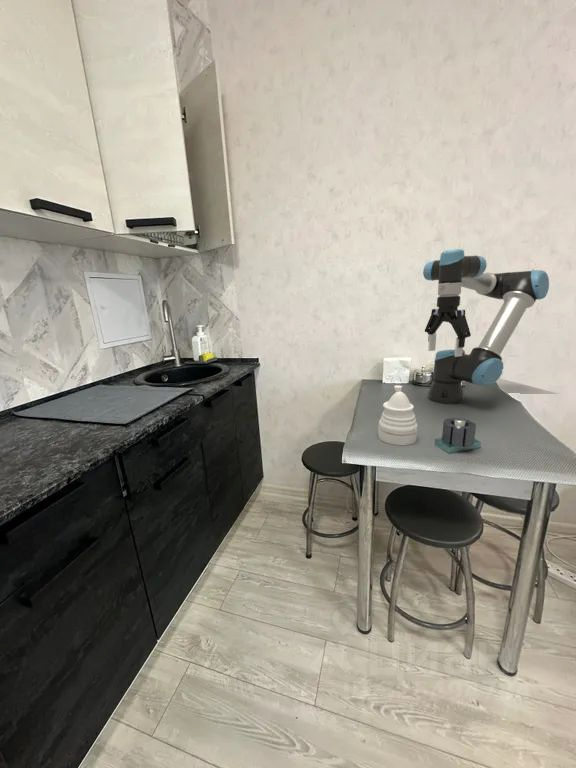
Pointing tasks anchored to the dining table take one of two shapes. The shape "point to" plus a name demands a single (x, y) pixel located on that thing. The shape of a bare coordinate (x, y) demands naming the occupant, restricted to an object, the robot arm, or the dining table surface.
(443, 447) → the teal two-tone fixture
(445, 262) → the robot arm
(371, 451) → the dining table surface
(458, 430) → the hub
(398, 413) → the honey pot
